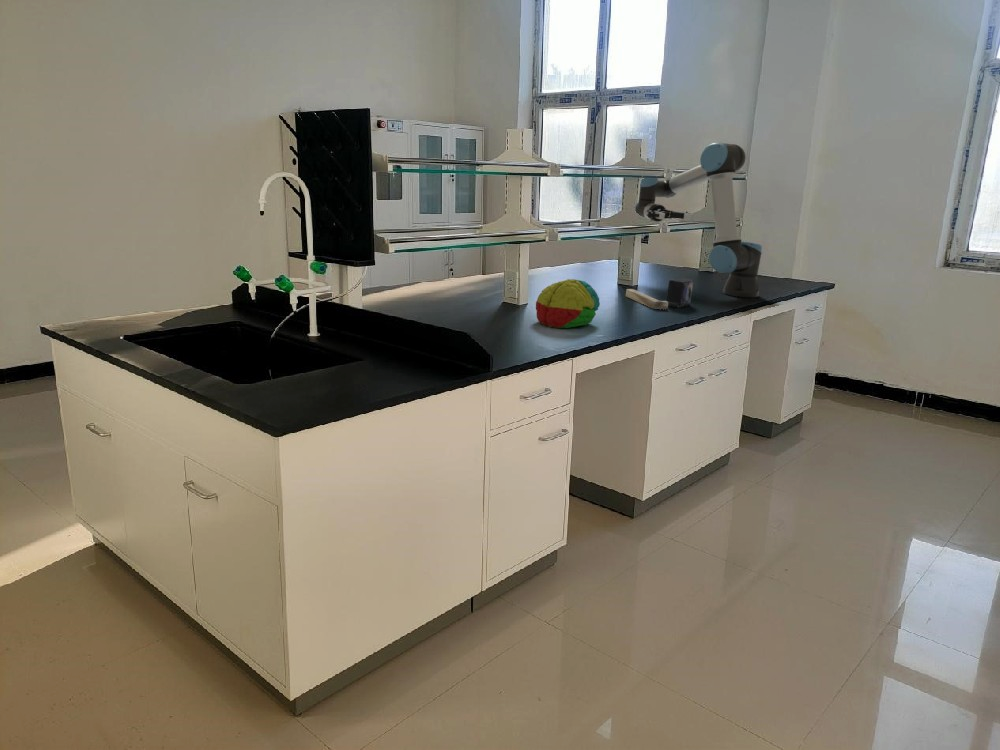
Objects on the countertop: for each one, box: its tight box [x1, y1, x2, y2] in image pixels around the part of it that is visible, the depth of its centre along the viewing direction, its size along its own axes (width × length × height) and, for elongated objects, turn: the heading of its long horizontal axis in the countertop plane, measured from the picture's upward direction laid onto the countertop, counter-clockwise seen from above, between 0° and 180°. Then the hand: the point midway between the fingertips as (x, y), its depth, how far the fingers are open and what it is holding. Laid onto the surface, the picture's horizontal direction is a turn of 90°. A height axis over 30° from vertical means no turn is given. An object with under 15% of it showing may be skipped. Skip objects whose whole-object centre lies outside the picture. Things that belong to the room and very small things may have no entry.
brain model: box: [535, 278, 601, 329], centre depth 242 cm, size 24×19×15 cm
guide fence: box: [625, 288, 669, 311], centre depth 287 cm, size 6×26×3 cm, turn 15°
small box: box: [665, 276, 695, 309], centre depth 285 cm, size 11×6×10 cm, turn 143°
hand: (678, 217), depth 308 cm, fingers open, 13 cm apart
